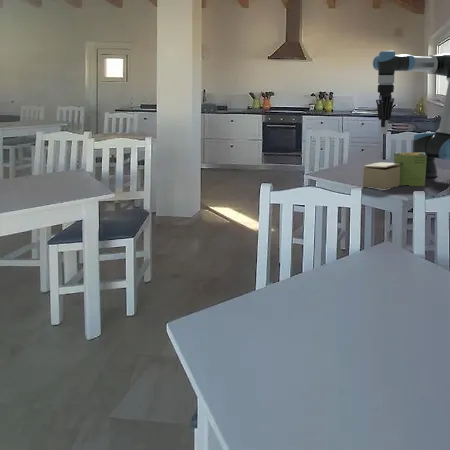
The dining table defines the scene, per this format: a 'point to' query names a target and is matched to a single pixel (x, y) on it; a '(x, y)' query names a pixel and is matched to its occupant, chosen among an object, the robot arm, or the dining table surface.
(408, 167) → the protein box
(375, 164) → the lid
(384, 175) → the carton
